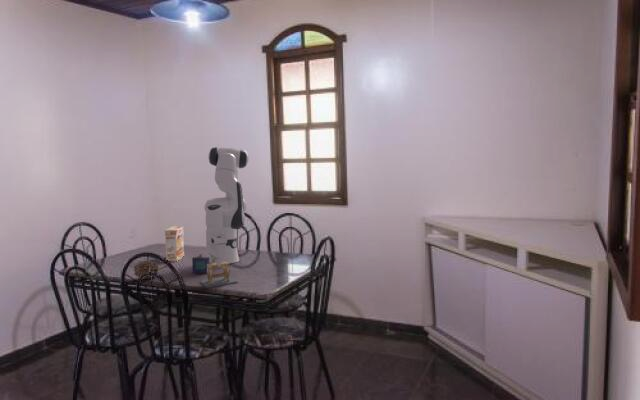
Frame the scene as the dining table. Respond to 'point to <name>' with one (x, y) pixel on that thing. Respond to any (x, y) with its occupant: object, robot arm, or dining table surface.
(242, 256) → the dining table surface
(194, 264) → the flask
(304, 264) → the dining table surface
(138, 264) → the pine cone
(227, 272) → the stool
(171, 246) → the coffeecake box
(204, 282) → the mat
